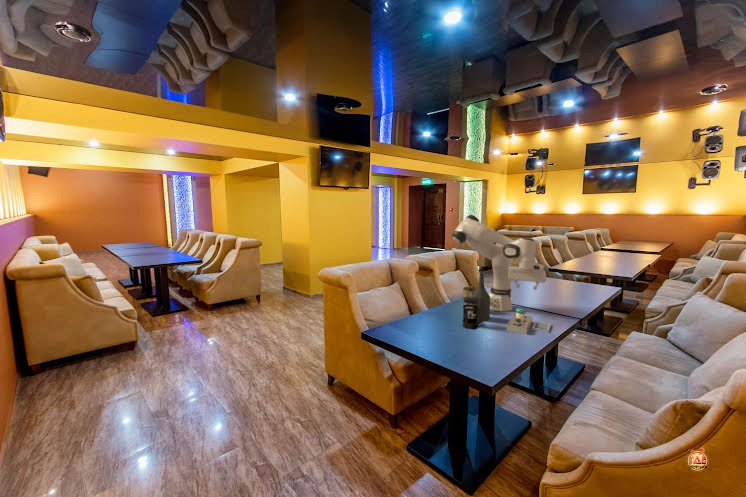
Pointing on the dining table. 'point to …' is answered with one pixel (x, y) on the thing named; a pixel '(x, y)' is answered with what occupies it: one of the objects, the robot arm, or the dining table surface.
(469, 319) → the french press
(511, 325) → the white slotted holder
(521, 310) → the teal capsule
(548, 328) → the tray
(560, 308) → the dining table surface
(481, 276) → the bottle
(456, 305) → the dining table surface
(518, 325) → the dark brown rounded plug
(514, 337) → the dining table surface
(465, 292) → the plant pot
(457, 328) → the dining table surface
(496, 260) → the robot arm
